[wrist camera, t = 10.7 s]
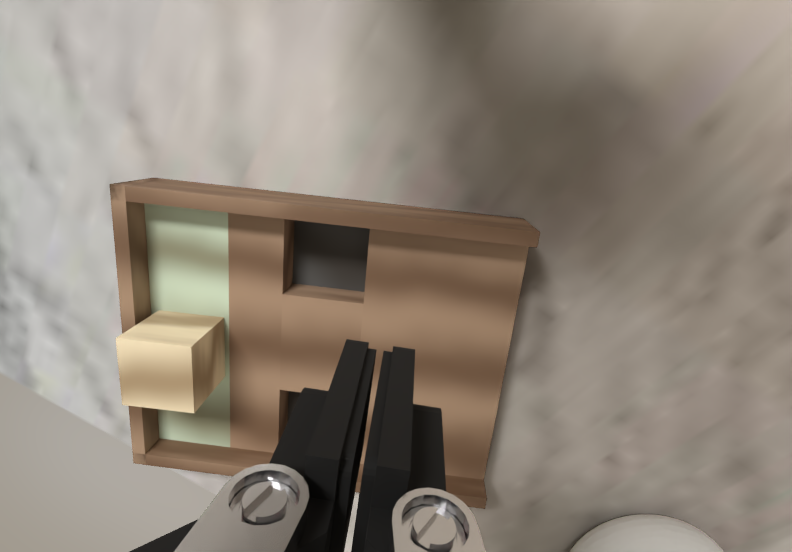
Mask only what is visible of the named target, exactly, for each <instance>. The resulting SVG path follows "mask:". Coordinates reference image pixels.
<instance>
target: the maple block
mask: <svg viewBox="0 0 792 552" xmlns="http://www.w3.org/2000/svg"><path fill="white" fill-rule="evenodd" d="M116 346H117V356H118V366H119V376H120V386H121V396H122V405H128V406H136V407H145V408H153V409H162V410H170V411H178V412H187V413H195V412H196V411H197V409H198V408H199V407H200V406H201V405H202V404H203V402H204V401H205V400H206V399H207V398H208V396H209V395H210V394H211V393H212V392H213V390H214V389H215V388H216V387H217V386H218V384H219V383H220V382H221V381H222V380H223V379H224V377H225V336H224V317H216V316H207V315H198V314H189V313H180V312H171V311H162V310H159V311H157V312H155V313H154V314H152V315H151V316H149V317H148V318H146V319H145V320H143V321H141V322H140V323H138V324H137V325H135V326H134V327H132V328H131V329H129V330H128V331H126V332H124V333H123V334H121V335H120V336H118V337H117V338H116Z"/></svg>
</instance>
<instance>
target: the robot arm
mask: <svg viewBox="0 0 792 552" xmlns="http://www.w3.org/2000/svg"><path fill="white" fill-rule="evenodd" d="M376 351H377V349H370V348H369V342H363V341H357V340H350V339H347V340H346V342H345V345H344V348H343V351H342V353H341V356H340V359H339V362H338V365H337V368H336V370H335V373H334V376H333V379H332V382H331V385H330V388H329V390H328V391H325V390H319V389H312V388H306V387H305V388H303V390H302V391H301V394H300V396H299V398H298V400H297V402H296V405H295V407H294V409H293V411H292V414H291V416H290V418H289V420H288V422H287V425H286V427H285V429H284V431H283V434H282V436H281V438H280V440H279V443H278V445H277V447H276V449H275V451H274V454H273V456H272V458H271V460H270V463H269V464H259V465H255V466H252V467H249V468H246V469H244V470H242V471H241V472H239V473H237V474H235V475H234V476H233V477H232V478H231V479H230V480H229V481H228V482H227V483H226V484H225V485H224V486H223V488H222V489H221V490H220V492H219V493H218V494H217V496H216V497H215V498H214V500H213V501H212V502H211V504H210V505H209V506H208V508H207V509H206V510H205V512H204V513H203V514H202V515H201V517H200V518H199V519H198V520H196V521H194V522H191V523H189V524H187V525H185V526H183V527H181V528H179V529H177V530H175V531H172V532H170V533H168V534H166V535H164V536H162V537H160V538H158V539H155V540H154V541H151V542H149V543H147V544H145V545H143V546H141V547H138V548H136V549H134V550H132V551H130V552H344V548H345V543H346V538H347V532H348V527H349V521H350V516H351V511H352V505H353V500H354V495H355V489H356V484H357V478H358V473H359V468H360V462H361V457H362V451H363V445H364V438H365V431H366V424H367V417H368V409H369V402H370V395H371V388H372V380H373V373H374V366H375V359H376ZM414 369H415V349H410V348H403V347H396V346H393V351H392V352H390V351H383V357H382V363H381V368H380V374H379V380H378V385H377V391H376V397H375V403H374V408H373V414H372V420H371V425H370V431H369V437H368V442H367V448H366V454H365V460H364V466H363V473H362V479H361V487H360V494H359V501H358V508H357V515H356V522H355V529H354V536H353V543H352V551H351V552H486V550H485V547H484V543H483V540H482V537H481V533H480V530H479V527H478V523H477V521H476V519H475V517H474V515H473V513H472V511H471V510H470V509H469V508H468V507H467V505H466V504H465V503H464V502H463V501H461V500H460V499H459V498H457V497H456V496H454V495H453V494H450V493H448V492H446V478H445V460H444V443H443V426H442V411H441V408H437V407H430V406H424V405H417V404H413V394H414Z"/></svg>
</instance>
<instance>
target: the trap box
mask: <svg viewBox="0 0 792 552" xmlns="http://www.w3.org/2000/svg"><path fill="white" fill-rule="evenodd" d="M110 195H111V207H112V218H113V230H114V241H115V253H116V264H117V276H118V288H119V299H120V311H121V322H122V334H123V333H124V332H126V331H128V330H129V329H131V328H132V327H134V326H135V325H137V324H138V323H140V322H141V321H143V320H145V319H146V318H148V317H149V316H151V315H152V314H154V313H155V312H157V311H159V310H162V311H171V312H180V313H189V314H198V315H207V316H216V317H224V336H225V377H224V379H223V380H222V381H221V382H220V383H219V384H218V386H217V387H216V388H215V389H214V390H213V392H212V393H211V394H210V395H209V396H208V398H207V399H206V400H205V401H204V402H203V404H202V405H201V406H200V407H199V408H198V409H197V411H196V412H195V413H187V412H178V411H170V410H162V409H153V408H145V407H136V406H129V415H130V427H131V438H132V449H133V461H134V463H136V464H143V465H151V466H159V467H167V468H174V469H182V470H190V471H197V472H205V473H213V474H220V475H228V476H234V475H235V474H237V473H239V472H241V471H242V470H244V469H246V468H249V467H252V466H255V465H259V464H269V463H270V460H271V458H272V456H273V454H274V451H275V449H276V447H277V445H278V443H279V440H280V438H281V436H282V434H283V431H284V429H285V427H286V425H287V422H288V420H289V418H290V416H291V414H292V411H293V409H294V407H295V405H296V402H297V400H298V398H299V396H300V394H301V391H302V390H303V388H305V387H306V388H312V389H319V390H325V391H328V390H329V388H330V385H331V382H332V379H333V376H334V373H335V370H336V368H337V365H338V362H339V359H340V356H341V353H342V351H343V348H344V345H345V342H346V340H347V339H350V340H357V341H363V342H369V348H370V349H377V351H376V359H375V366H374V373H373V380H372V388H371V395H370V402H369V409H368V417H367V424H366V431H365V438H364V445H363V451H362V457H361V462H360V468H359V473H358V478H357V484H356V489H355V492H359V493H360V487H361V479H362V473H363V466H364V460H365V454H366V448H367V442H368V437H369V431H370V425H371V420H372V414H373V408H374V403H375V397H376V391H377V385H378V380H379V374H380V368H381V363H382V357H383V351H390V352H392V351H393V346H396V347H403V348H410V349H415V369H414V394H413V404H417V405H424V406H430V407H437V408H441V411H442V426H443V443H444V460H445V478H446V492H448V493H450V494H453V495H454V496H456V497H457V498H459V499H460V500H461V501H463V502H464V503H465V504H466V505H467V507H475V508H483V509H485V505H486V500H487V496H486V490H485V485H484V475H485V470H486V465H487V460H488V455H489V450H490V445H491V439H492V434H493V429H494V424H495V419H496V414H497V409H498V403H499V398H500V393H501V388H502V383H503V378H504V373H505V367H506V362H507V357H508V352H509V347H510V342H511V337H512V331H513V326H514V321H515V316H516V311H517V306H518V301H519V295H520V290H521V285H522V280H523V275H524V270H525V265H526V259H527V254H528V249H529V247H537V246H538V241H539V236H540V232H539V231H538V230H537V229H536V228H534V227H533V226H532V225H531V224H529V223H528V222H527V221H526V220H525V219H521V218H512V217H503V216H494V215H485V214H476V213H467V212H458V211H449V210H440V209H431V208H422V207H413V206H404V205H395V204H386V203H376V202H367V201H358V200H349V199H340V198H331V197H322V196H313V195H304V194H295V193H286V192H277V191H268V190H259V189H250V188H241V187H232V186H223V185H214V184H205V183H196V182H187V181H178V180H169V179H160V178H149V179H142V180H135V181H128V182H121V183H114V184H110Z"/></svg>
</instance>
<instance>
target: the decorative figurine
mask: <svg viewBox="0 0 792 552" xmlns="http://www.w3.org/2000/svg"><path fill="white" fill-rule="evenodd" d="M570 552H724V551H723V550H722V549H721V548H720V546H719V545H718V544H717V543H716V542H715V541H714V540H713V539H712V538H711V537H709V536H708V535H707V534H705V533H704V532H703V531H701V530H700V529H698V528H696V527H694V526H693V525H691V524H689V523H687V522H684V521H682V520H679V519H675V518H672V517H668V516H661V515H654V514H638V515H628V516H624V517H620V518H616V519H613V520H610V521H607V522H605V523H603V524H601V525H599V526H597V527H595V528H594V529H592V530H590V531H589V532H587V533H586V534H585V535H584V536H583V537H582V538H581V539H579V540H578V541H577V543H576V544H575V545H574V547H573V548H572V549H571V550H570Z"/></svg>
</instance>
